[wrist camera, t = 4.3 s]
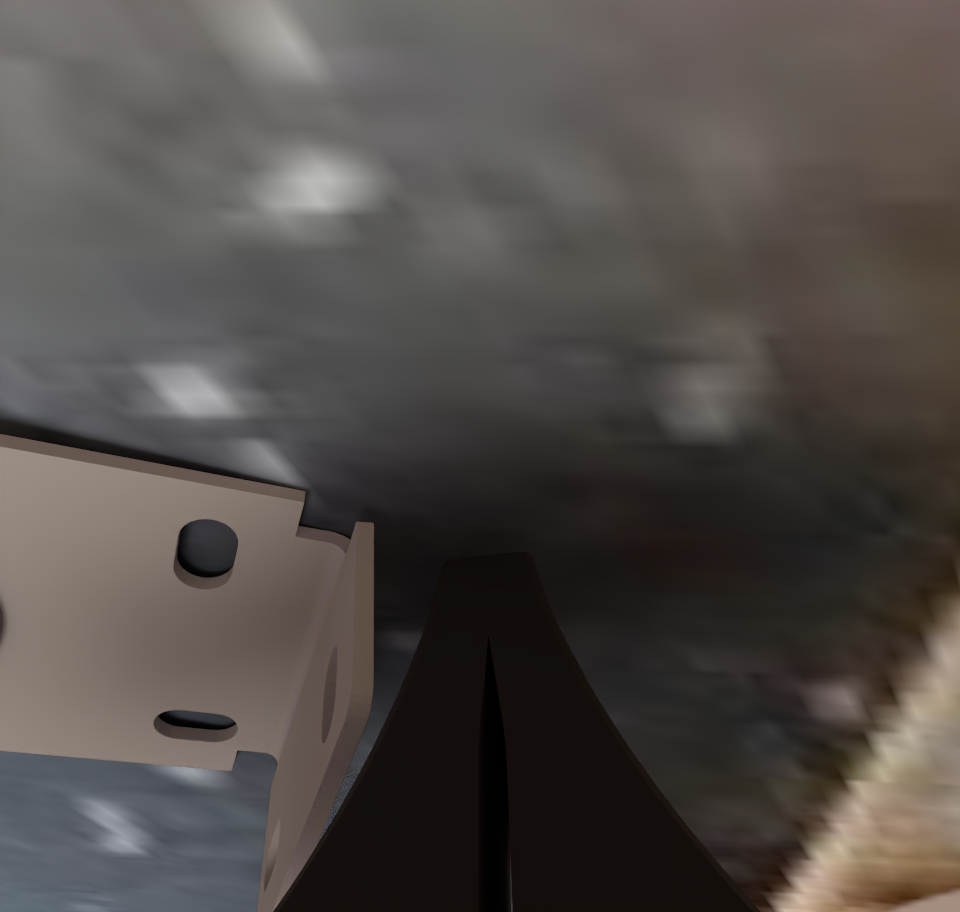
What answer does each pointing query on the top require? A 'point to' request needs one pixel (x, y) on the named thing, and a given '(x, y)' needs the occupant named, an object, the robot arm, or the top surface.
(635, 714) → the top surface
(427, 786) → the robot arm
